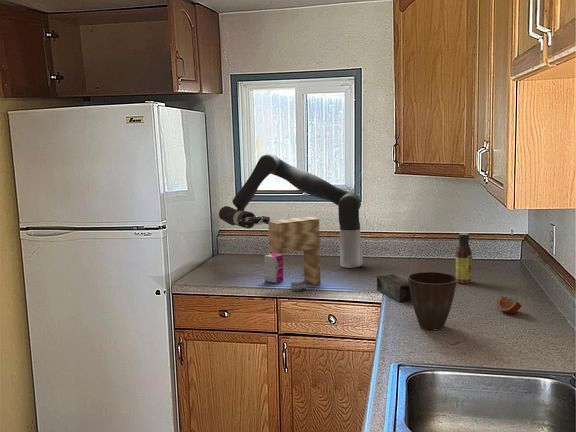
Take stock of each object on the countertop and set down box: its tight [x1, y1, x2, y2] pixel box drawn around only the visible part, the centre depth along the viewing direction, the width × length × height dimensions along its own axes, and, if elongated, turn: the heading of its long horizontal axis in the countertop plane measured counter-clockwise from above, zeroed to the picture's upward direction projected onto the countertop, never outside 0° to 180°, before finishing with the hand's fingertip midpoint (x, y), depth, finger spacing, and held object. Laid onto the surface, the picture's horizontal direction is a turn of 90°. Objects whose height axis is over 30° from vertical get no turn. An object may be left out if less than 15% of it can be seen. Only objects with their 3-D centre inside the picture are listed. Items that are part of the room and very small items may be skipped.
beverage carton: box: [376, 273, 412, 303], centre depth 223 cm, size 8×19×7 cm, turn 18°
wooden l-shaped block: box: [267, 216, 321, 285], centre depth 239 cm, size 19×8×27 cm, turn 120°
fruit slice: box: [496, 295, 522, 314], centre depth 199 cm, size 8×7×5 cm
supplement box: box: [264, 252, 284, 285], centre depth 247 cm, size 6×6×12 cm
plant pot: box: [407, 271, 457, 331], centre depth 187 cm, size 15×15×16 cm
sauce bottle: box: [455, 232, 473, 285], centre depth 237 cm, size 7×6×20 cm
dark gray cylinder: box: [290, 281, 307, 294], centre depth 233 cm, size 6×6×3 cm
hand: (260, 223), depth 254 cm, fingers open, 8 cm apart
